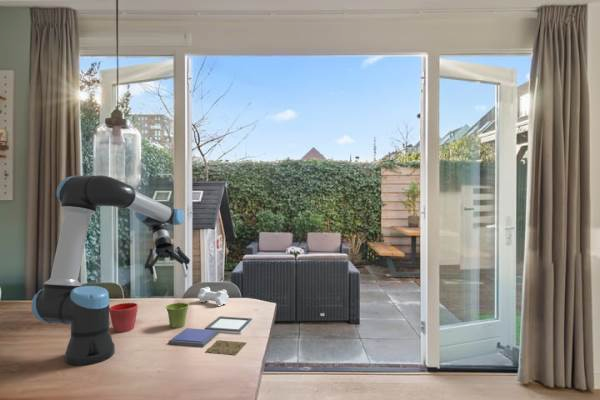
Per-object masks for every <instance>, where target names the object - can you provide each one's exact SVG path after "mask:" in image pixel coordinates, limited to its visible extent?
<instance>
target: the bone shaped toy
mask: <svg viewBox="0 0 600 400" xmlns="http://www.w3.org/2000/svg"><path fill="white" fill-rule="evenodd" d="M229 296H230V295H228V291H227V290H226V289H222V290H217V291H211V288H210V287H209V286H205V287H201V288H200V289H199V292H198V294H197V298H198V299H199V303H201V302H205V301H209V300H210V301H211V302H215V304H216V306H217V305H222V306H224V305H223V304H226V305H227V302H228V300H229V298H230V297H229ZM210 301H209V302H210ZM205 303H206V302H205Z"/></svg>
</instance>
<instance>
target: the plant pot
mask: <svg viewBox="0 0 600 400" xmlns="http://www.w3.org/2000/svg"><path fill="white" fill-rule="evenodd" d="M189 306H190V305H189V303H187V302H175V303H169V304H167V305H166V306H165V309H166V312H167V317H168V322H169V327H170V328H171V327H172V329H174V328H176V329H179V328H178V327H180V328H183V327H184V326H185V325H186V318H187V312H188V309H189ZM182 326H183V327H182Z"/></svg>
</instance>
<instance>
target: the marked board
mask: <svg viewBox="0 0 600 400" xmlns="http://www.w3.org/2000/svg"><path fill="white" fill-rule="evenodd" d="M253 322H254V319H253V318H249V317H237V316H235V317H233V316H218V317H217V318H215V319H214V320H213V321H212V322H211V323H209V324H208V325H207V326H205V328H204V329H206V330H219V333H220V332H221V334H222V333H223V334H234V335H235V334H236V335H242V333H243V332H244V331H245V330H246V329H247V328H249V326H250V325H251V324H252V323H253Z"/></svg>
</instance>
